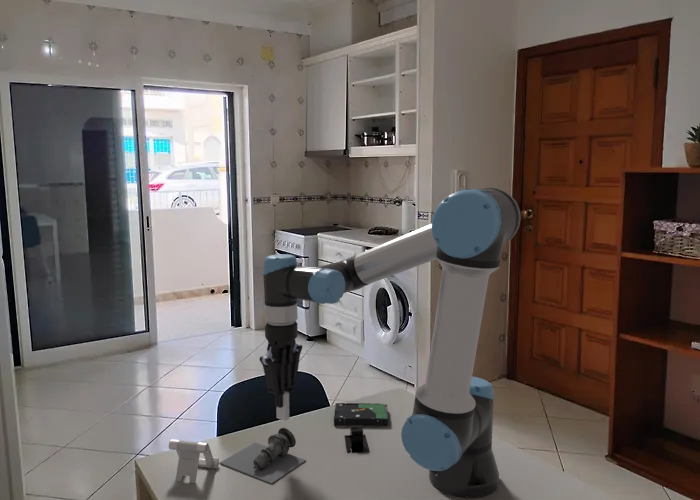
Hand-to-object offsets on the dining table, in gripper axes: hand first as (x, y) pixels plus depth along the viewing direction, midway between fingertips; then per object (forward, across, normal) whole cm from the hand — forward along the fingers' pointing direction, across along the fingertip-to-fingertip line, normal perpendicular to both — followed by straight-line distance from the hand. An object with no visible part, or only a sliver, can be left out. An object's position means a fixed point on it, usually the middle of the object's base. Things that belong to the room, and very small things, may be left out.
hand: (282, 418), depth 135 cm
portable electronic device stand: (+10, +17, -12) cm, 23 cm away
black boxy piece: (+10, -15, +11) cm, 21 cm away
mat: (+10, +5, -2) cm, 11 cm away
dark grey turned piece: (+6, -2, 0) cm, 6 cm away
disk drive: (+10, -28, +4) cm, 30 cm away
